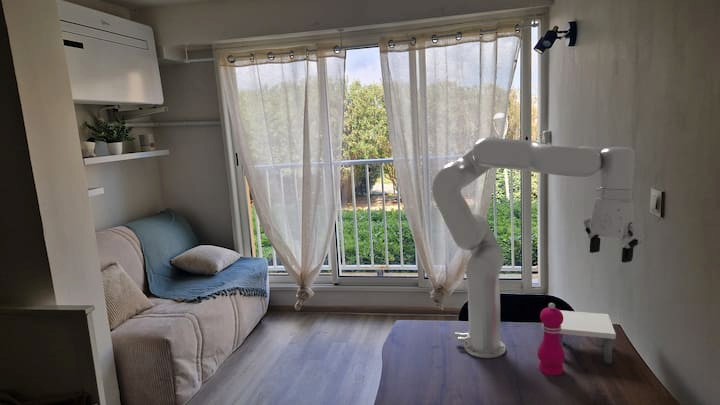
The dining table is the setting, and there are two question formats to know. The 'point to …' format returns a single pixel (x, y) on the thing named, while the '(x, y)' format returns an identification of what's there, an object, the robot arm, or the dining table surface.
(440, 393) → the dining table surface
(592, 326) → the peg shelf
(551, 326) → the pepper mill
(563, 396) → the dining table surface
